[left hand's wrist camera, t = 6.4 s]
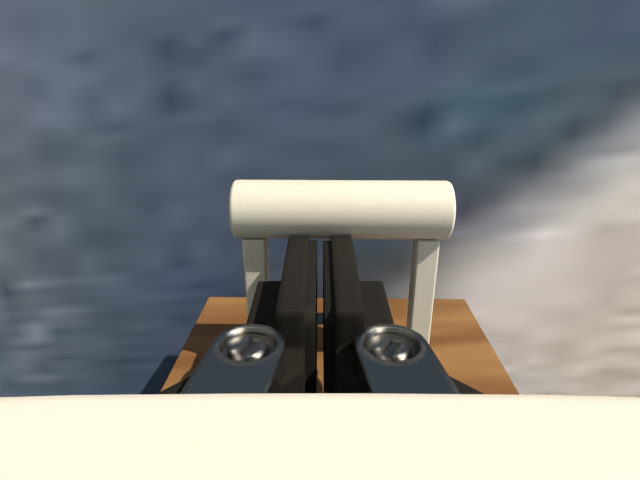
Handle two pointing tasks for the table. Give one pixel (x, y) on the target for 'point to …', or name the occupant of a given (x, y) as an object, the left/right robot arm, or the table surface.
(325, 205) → the drawer
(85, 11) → the table surface
